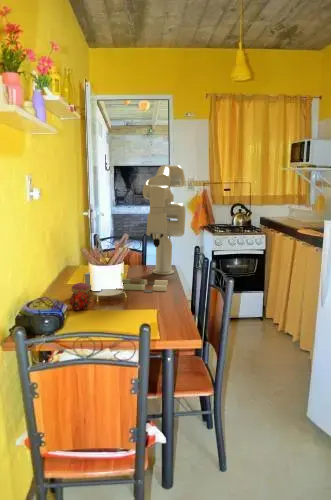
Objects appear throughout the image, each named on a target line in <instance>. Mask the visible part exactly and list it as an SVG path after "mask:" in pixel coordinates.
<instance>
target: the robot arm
mask: <svg viewBox="0 0 331 500" xmlns="http://www.w3.org/2000/svg"><path fill="white" fill-rule="evenodd" d="M185 182H186V178H185V173H184V169H183V167H182V166H181V165H172V164H171V165H169V164H167V165H166V164H164V165H161V166H159V168H158V169H157V172H156V174H155V176H152V177H151V178H149V179H147V180H146V181H145V183H144V185H143V189H142V195H143V198H144V199H145V200H149V212H148V213H147V219H146V220H147V221H146V234H145V235H146V236H149V237H150V238H152V239H153V246H154V248H155V269H153V270H152V273H154V274H156V275H165V276H166V275H173V274H174V273H175V271H174V269H172V262H173V242H172V240H171V239H170V237H179V238H180V237H183V236H184V234H185V231H186V229H185V228H186V207H185V205H184V203H181V202H174V198H175V196H174V193H173V192H172V190H171V188H181V187H184V185H185Z"/></svg>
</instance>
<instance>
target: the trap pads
mask: <svg viewBox="0 0 331 500" xmlns="http://www.w3.org/2000/svg"><path fill="white" fill-rule="evenodd" d="M154 283H155V281H147V285H154ZM153 292H154V291H153V289H145V290H143V293H144V294H145V293H146V294H148V293H149V294H153Z"/></svg>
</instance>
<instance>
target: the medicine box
mask: <svg viewBox="0 0 331 500" xmlns="http://www.w3.org/2000/svg"><path fill="white" fill-rule="evenodd" d="M90 273H91V272H85V273H84V274H85V277H84V283H86V284H88V285H89V286H90V290H91V285H90Z"/></svg>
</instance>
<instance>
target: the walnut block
mask: <svg viewBox="0 0 331 500" xmlns="http://www.w3.org/2000/svg"><path fill="white" fill-rule="evenodd" d="M130 279H131V280H130V284H135V285H141V280H142V278H136V277H135V278H134V277H133V278H132V277H131V278H130Z"/></svg>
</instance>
